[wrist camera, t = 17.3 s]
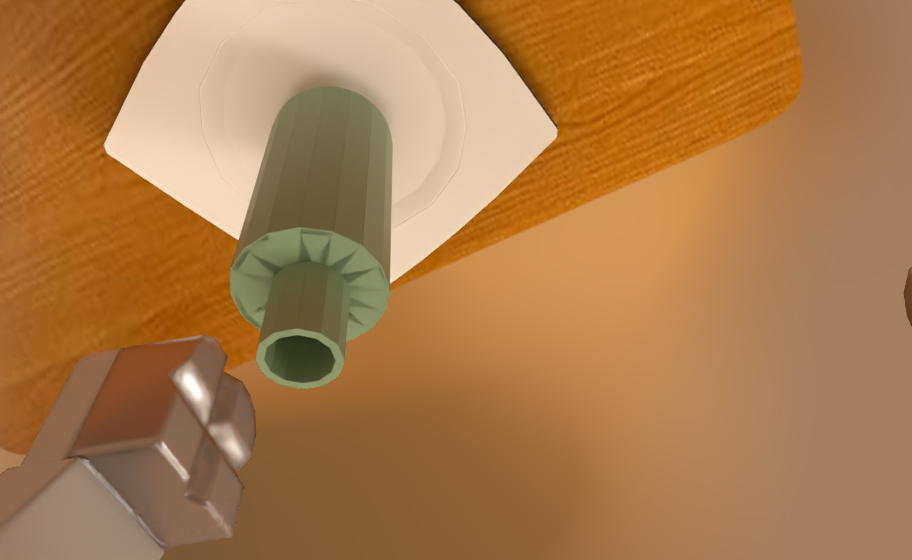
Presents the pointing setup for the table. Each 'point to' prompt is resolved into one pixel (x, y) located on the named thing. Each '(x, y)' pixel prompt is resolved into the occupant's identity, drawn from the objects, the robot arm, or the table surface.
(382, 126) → the bottle
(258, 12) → the plate
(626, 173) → the table surface
